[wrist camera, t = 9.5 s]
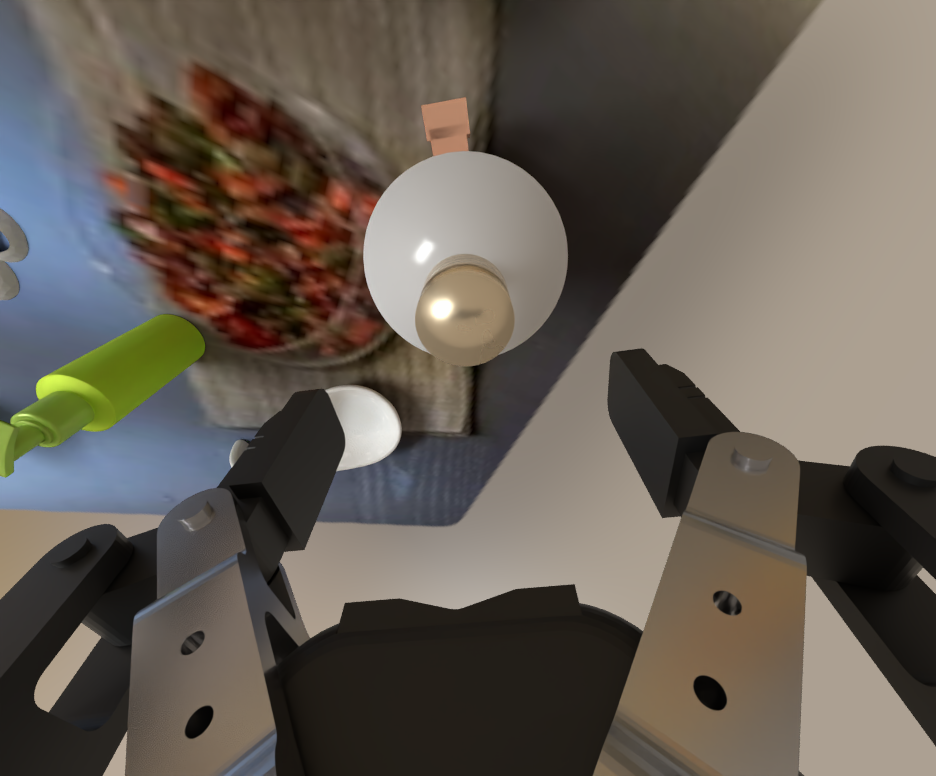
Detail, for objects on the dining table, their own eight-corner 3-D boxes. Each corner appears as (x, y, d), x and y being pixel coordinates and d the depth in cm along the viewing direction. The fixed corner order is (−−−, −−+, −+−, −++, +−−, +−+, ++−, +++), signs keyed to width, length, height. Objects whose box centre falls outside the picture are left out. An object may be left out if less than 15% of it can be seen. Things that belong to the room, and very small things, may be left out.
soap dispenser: (214, 326, 42) (42, 446, 25) (197, 369, 45) (34, 503, 28) (158, 296, 40) (-69, 403, 23) (144, 343, 43) (-66, 469, 26)
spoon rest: (375, 358, 44) (360, 391, 38) (420, 429, 50) (414, 467, 44) (220, 421, 49) (185, 459, 43) (277, 479, 55) (254, 519, 49)
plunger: (424, 240, 20) (404, 280, 14) (497, 229, 20) (510, 265, 14) (437, 310, 22) (426, 371, 16) (504, 300, 22) (518, 359, 16)
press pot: (385, 131, 32) (318, 116, 18) (521, 106, 31) (567, 70, 17) (420, 289, 39) (392, 370, 25) (530, 273, 39) (568, 347, 24)
